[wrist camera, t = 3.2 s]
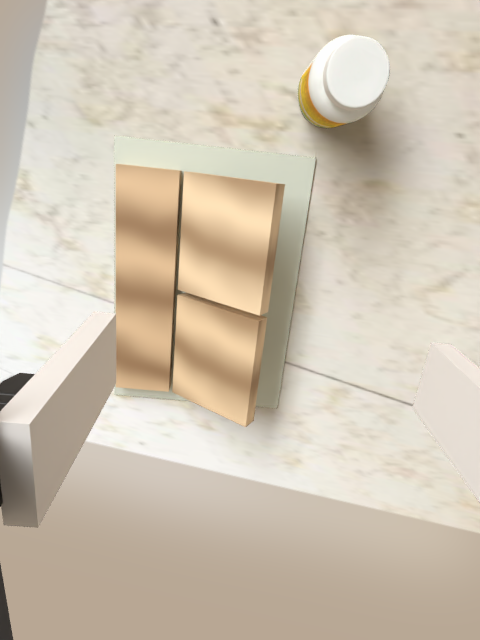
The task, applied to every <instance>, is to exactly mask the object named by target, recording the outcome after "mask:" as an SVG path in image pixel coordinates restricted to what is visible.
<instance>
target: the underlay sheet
mask: <svg viewBox="0 0 480 640" xmlns="http://www.w3.org/2000/svg"><path fill="white" fill-rule="evenodd" d="M315 161H316V158H314V157H305V156H296V155H287V154H278V153H269V152H260V151H251V150H242V149H233V148H224V147H215V146H206V145H197V144H188V143H179V142H170V141H161V140H152V139H143V138H133V137H124V136H115V135H114V313H116V164H126V165H135V166H144V167H153V168H163V169H172V170H181V171H182V174H181V194H180V213H179V233H178V252H177V272H176V292H175V311H174V331H173V350H172V370H171V386H170V389H169V392H166V391H154V390H142V389H131V388H119V387H116V384H115V395H125V396H137V397H149V398H160V399H172V400H184V401H190V400H188V399H185V398H183V397H181V396H179V395H177V394H175V393H173V392H172V389H173V370H174V351H175V333H176V314H177V295H179V294H182V293H186V292H183V291H180V290H178V276H179V257H180V238H181V219H182V200H183V181H184V171H186V172H198V173H205V174H213V175H220V176H228V177H235V178H243V179H250V180H258V181H265V182H273V183H280V184H285V189H284V196H283V204H282V211H281V219H280V226H279V234H278V241H277V249H276V256H275V264H274V271H273V279H272V286H271V294H270V301H269V309H268V312H267V313H265V314H262V316H265V317H267V324H266V331H265V339H264V346H263V354H262V361H261V369H260V376H259V384H258V391H257V399H256V406H255V407H266V408H277V407H278V401H279V394H280V388H281V381H282V375H283V368H284V362H285V355H286V349H287V342H288V336H289V329H290V323H291V316H292V310H293V304H294V297H295V291H296V284H297V278H298V271H299V265H300V258H301V252H302V245H303V239H304V232H305V226H306V220H307V213H308V207H309V200H310V194H311V187H312V181H313V174H314V168H315Z"/></svg>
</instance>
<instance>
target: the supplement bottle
mask: <svg viewBox="0 0 480 640" xmlns="http://www.w3.org/2000/svg"><path fill="white" fill-rule="evenodd" d="M389 73H390V64H389V58H388V56H387V53H386V51H385V49H384V48H383V47H382V45H381V44H380V43H378V42H377V41H376V40H374V39H372V38H370V37H365V36H358V35H345V36H341V37H338V38H336V39H334V40H332V41H330V42H329V43H328V44H326V45H325V46H324V47H323V48H322V49H321V50H320V51H319V53H318V54H317V56H316V57H315V58H314V59H313V61H312V62H311V63H310V64H309V65H308V67H307V68H306V70H305V71H304V73H303V75H302V77H301V79H300V82H299V86H298V103H299V107H300V110H301V112H302V114H303V115H304V117H305V118H306V119H307V120H308V121H309V122H310V123H312V124H313V125H315V126H317V127H321V128H333V127H338V126H341V125H344V124H347V123H351V122H354V121H357V120H359V119H361V118H363V117H364V116H366V115H367V114H368V113H370V112H371V111H372V110H373V109H374V108H375V106H376V105H377V104H378V102H379V101H380V99H381V97H382V94H383V92H384V89H385V87H386V85H387V82H388V79H389Z"/></svg>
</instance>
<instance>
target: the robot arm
mask: <svg viewBox="0 0 480 640" xmlns="http://www.w3.org/2000/svg"><path fill="white" fill-rule="evenodd" d="M115 384H116V313H105V312H93V313H92V314H91V315H90V316H89V317H88V318H87V320H86V321H85V322H84V323H83V324H82V325H81V326H80V327H79V328H78V329H77V330H76V331H75V332H74V333H73V334H72V335H71V337H70V338H69V339H68V340H67V341H66V342H65V343H64V344H63V345H62V346H61V347H60V348H59V349H58V350H57V351H56V352H55V354H54V355H53V356H52V357H51V358H50V359H49V360H48V361H47V362H46V363H45V364H44V365H43V366H42V367H41V368H40V369H39V371H38V372H37V373H36V374H27V373H19V374H17V375H15V376H13V377H11V378H9V379H7V380H4V381H3V382H2V383H1V384H0V507H2V515H3V524H4V525H8V526H23V527H37V528H38V527H39V525H40V523H41V522H42V520H43V518H44V516H45V514H46V512H47V510H48V509H49V507H50V505H51V503H52V501H53V499H54V497H55V496H56V494H57V492H58V490H59V488H60V486H61V485H62V483H63V481H64V479H65V477H66V475H67V473H68V472H69V469H70V468H71V466H72V464H73V462H74V460H75V459H76V457H77V455H78V453H79V451H80V449H81V447H82V445H83V444H84V442H85V440H86V438H87V436H88V435H89V433H90V431H91V429H92V427H93V425H94V423H95V422H96V420H97V418H98V416H99V414H100V412H101V410H102V409H103V407H104V405H105V403H106V401H107V399H108V397H109V396H110V394H111V392H112V390H113V388H114V386H115ZM412 408H413V410H414V411H415V413H416V414H417V415H418V417H419V418H420V420H421V421H422V422H423V424H424V425H425V427H426V428H427V430H428V431H429V432H430V434H431V435H432V437H433V438H434V439H435V441H436V442H437V444H438V445H439V446H440V448H441V449H442V451H443V452H444V453H445V455H446V456H447V458H448V459H449V461H450V462H451V463H452V465H453V466H454V468H455V469H456V470H457V472H458V473H459V475H460V476H461V477H462V479H463V480H464V482H465V483H466V485H467V486H468V487H469V489H470V490H471V492H472V493H473V494H474V496H475V497H476V499H477V500H478V501H479V503H480V368H479V367H478V366H476V365H475V364H474V363H473V362H472V361H471V360H469V359H468V358H467V357H466V356H465V355H463V354H462V353H461V352H460V351H459V350H458V349H456V348H455V347H454V346H453V345H452V344H444V343H433V342H431V343H430V347H429V350H428V354H427V358H426V361H425V365H424V368H423V372H422V375H421V379H420V382H419V386H418V389H417V393H416V396H415V400H414V404H413V407H412ZM0 640H13V636H12V630H11V624H10V619H9V613H8V606H7V600H6V595H5V589H4V583H3V577H2V572H1V565H0Z"/></svg>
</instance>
